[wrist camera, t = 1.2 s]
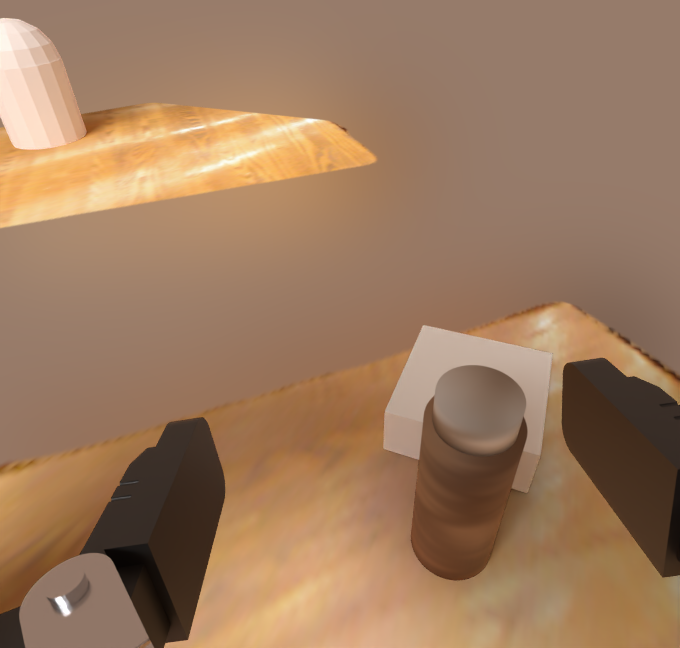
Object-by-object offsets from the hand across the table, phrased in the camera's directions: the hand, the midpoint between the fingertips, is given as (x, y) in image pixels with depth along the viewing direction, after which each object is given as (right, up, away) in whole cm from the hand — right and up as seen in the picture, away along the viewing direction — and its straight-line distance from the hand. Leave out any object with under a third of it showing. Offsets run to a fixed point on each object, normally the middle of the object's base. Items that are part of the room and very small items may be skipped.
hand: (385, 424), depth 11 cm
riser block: (+9, -5, +27) cm, 28 cm away
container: (-57, +38, +85) cm, 110 cm away
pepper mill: (+6, -11, +19) cm, 23 cm away
